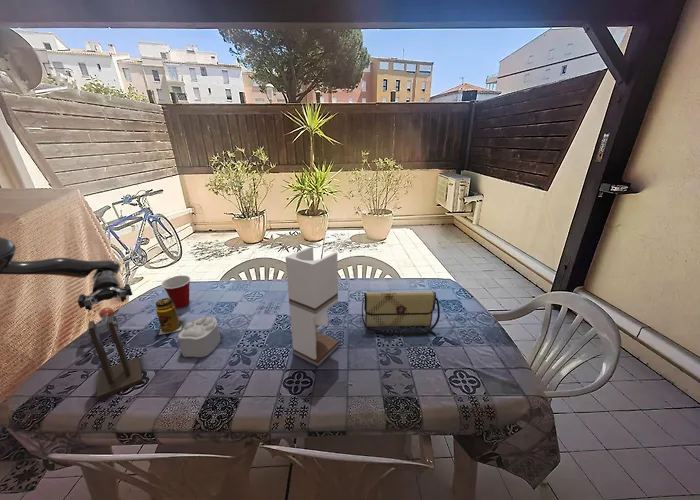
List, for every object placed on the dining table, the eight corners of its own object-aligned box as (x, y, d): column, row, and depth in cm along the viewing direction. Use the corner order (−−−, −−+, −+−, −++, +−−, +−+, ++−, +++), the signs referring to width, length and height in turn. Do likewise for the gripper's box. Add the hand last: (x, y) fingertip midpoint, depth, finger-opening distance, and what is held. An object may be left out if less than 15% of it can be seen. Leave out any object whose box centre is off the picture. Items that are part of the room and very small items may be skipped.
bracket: (99, 374, 82) (77, 318, 76) (139, 359, 88) (123, 306, 82) (97, 400, 74) (73, 340, 67) (143, 381, 80) (124, 324, 73)
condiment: (158, 335, 100) (150, 307, 96) (163, 323, 108) (155, 296, 104) (181, 330, 103) (174, 303, 99) (184, 318, 110) (177, 292, 106)
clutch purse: (361, 335, 100) (362, 300, 95) (360, 324, 107) (360, 290, 102) (440, 334, 101) (445, 299, 96) (434, 323, 108) (438, 290, 103)
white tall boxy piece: (317, 366, 86) (313, 264, 74) (293, 353, 91) (285, 256, 80) (338, 346, 95) (337, 252, 83) (315, 335, 100) (310, 246, 89)
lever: (101, 318, 88) (98, 308, 87) (115, 315, 90) (112, 304, 90) (95, 337, 73) (91, 325, 73) (112, 332, 75) (109, 320, 75)
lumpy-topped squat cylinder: (177, 356, 90) (171, 334, 87) (200, 332, 102) (196, 312, 99) (207, 357, 89) (203, 335, 86) (227, 333, 102) (223, 313, 99)
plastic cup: (162, 312, 114) (156, 287, 110) (173, 300, 124) (167, 276, 120) (190, 310, 116) (185, 285, 112) (198, 297, 126) (193, 274, 122)
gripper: (77, 282, 98) (73, 300, 86) (127, 272, 106) (129, 287, 95) (84, 301, 100) (81, 320, 89) (132, 289, 109) (135, 306, 97)
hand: (106, 303), depth 92 cm, fingers open, 8 cm apart
